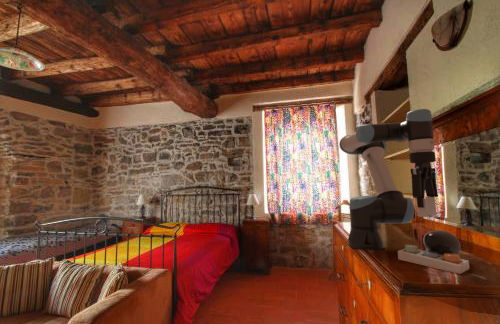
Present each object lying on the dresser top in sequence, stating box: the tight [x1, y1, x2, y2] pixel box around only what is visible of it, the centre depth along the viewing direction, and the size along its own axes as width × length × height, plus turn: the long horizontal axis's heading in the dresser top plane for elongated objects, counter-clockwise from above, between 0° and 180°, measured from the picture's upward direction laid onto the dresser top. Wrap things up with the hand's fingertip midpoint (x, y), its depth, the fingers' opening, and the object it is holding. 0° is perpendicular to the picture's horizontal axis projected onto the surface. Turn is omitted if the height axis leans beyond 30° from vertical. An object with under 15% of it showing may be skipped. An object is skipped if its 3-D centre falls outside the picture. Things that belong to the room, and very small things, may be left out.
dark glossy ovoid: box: [422, 229, 462, 255], centre depth 85 cm, size 10×10×15 cm
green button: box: [404, 244, 419, 254], centre depth 86 cm, size 4×4×2 cm
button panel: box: [397, 248, 470, 274], centre depth 81 cm, size 18×8×3 cm, turn 30°
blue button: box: [423, 250, 438, 259], centre depth 81 cm, size 4×4×2 cm
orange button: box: [444, 253, 461, 264], centre depth 76 cm, size 4×4×2 cm
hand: (427, 215), depth 82 cm, fingers open, 6 cm apart
